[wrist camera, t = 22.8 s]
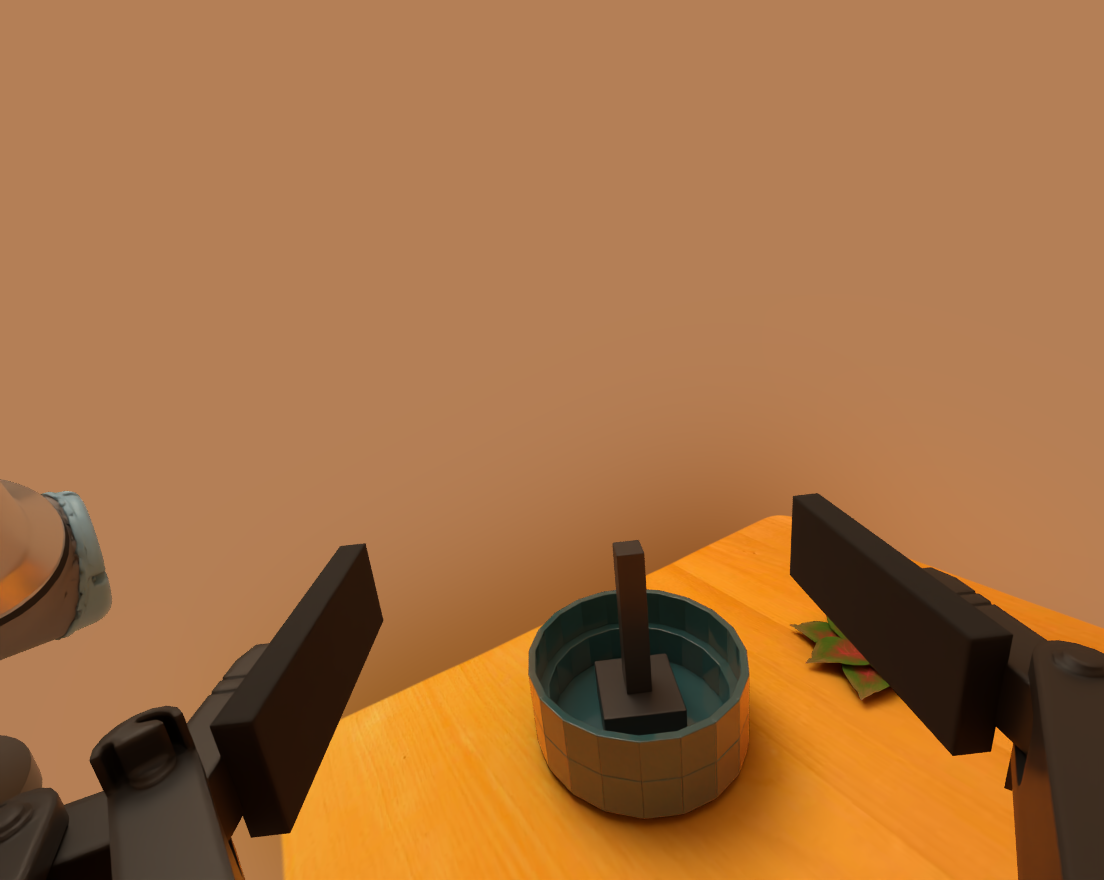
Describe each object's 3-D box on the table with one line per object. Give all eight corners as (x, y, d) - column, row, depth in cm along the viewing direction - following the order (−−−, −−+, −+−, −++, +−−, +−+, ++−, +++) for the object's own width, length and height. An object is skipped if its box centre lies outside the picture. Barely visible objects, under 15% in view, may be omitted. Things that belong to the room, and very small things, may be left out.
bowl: (540, 839, 31) (527, 755, 29) (537, 663, 45) (529, 599, 43) (788, 810, 31) (791, 725, 29) (706, 644, 45) (705, 579, 43)
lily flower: (855, 729, 36) (860, 674, 34) (764, 623, 47) (765, 579, 46) (1010, 696, 37) (1020, 643, 35) (884, 600, 48) (889, 557, 47)
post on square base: (607, 754, 35) (590, 575, 31) (597, 692, 40) (581, 532, 36) (688, 745, 35) (681, 564, 31) (667, 684, 40) (659, 523, 36)
